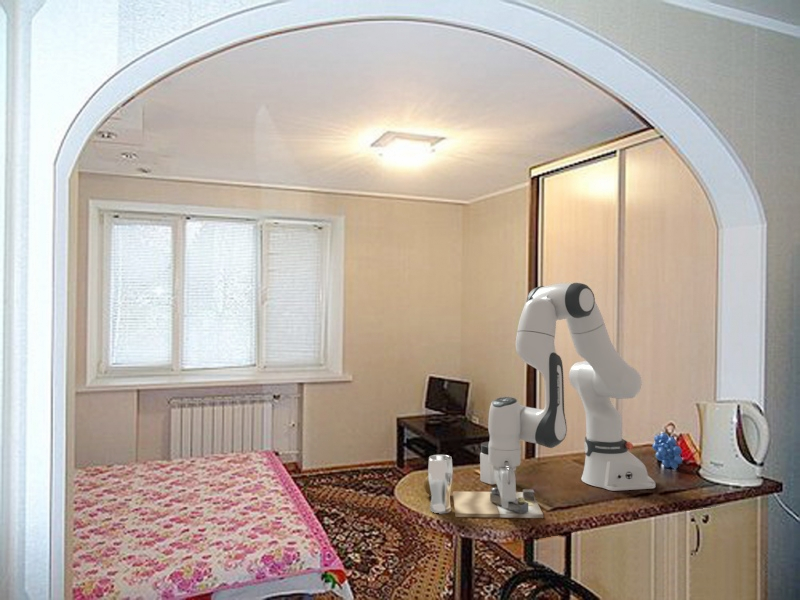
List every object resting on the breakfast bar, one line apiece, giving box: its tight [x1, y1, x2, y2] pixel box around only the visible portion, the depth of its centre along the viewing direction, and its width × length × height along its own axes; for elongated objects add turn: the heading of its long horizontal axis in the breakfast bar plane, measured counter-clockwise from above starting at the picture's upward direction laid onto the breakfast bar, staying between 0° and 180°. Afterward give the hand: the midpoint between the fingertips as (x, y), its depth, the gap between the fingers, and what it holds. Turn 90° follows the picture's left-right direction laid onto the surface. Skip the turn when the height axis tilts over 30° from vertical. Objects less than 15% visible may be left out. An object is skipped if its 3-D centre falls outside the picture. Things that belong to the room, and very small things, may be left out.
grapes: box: [652, 432, 683, 470], centre depth 204 cm, size 12×7×12 cm, turn 28°
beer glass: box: [427, 454, 454, 515], centre depth 165 cm, size 7×7×15 cm
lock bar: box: [490, 486, 528, 514], centre depth 164 cm, size 13×3×4 cm, turn 34°
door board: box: [452, 488, 544, 519], centre depth 168 cm, size 24×18×4 cm
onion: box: [423, 475, 431, 497], centre depth 177 cm, size 8×8×8 cm
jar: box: [479, 441, 497, 486], centre depth 191 cm, size 9×8×12 cm
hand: (504, 506), depth 161 cm, fingers closed
